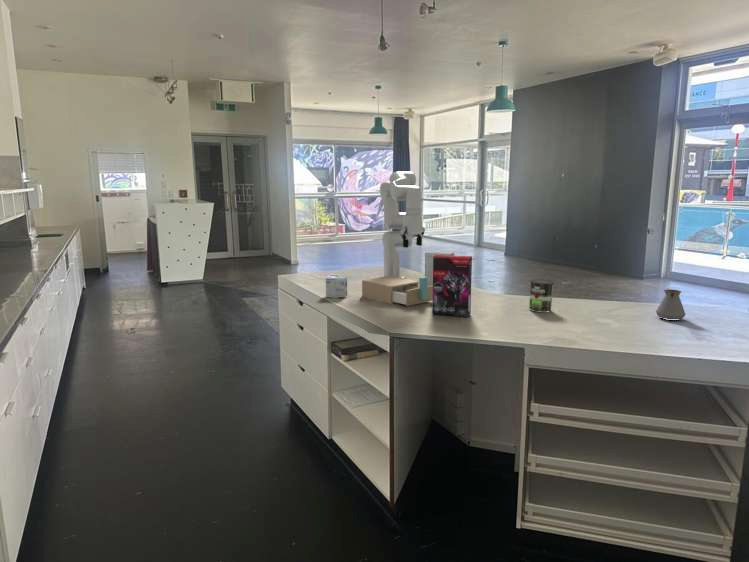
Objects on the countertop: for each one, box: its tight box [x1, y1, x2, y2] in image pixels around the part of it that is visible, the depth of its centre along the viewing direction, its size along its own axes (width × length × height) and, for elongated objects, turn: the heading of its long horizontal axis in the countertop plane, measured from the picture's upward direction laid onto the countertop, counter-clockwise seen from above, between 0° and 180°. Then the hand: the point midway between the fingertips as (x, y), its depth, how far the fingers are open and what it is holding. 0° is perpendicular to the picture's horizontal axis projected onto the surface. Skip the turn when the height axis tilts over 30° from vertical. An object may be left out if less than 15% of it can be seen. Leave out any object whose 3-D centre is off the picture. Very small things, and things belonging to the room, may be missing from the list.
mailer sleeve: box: [361, 275, 419, 305], centre depth 270 cm, size 20×22×9 cm
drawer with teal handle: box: [392, 276, 433, 307], centre depth 260 cm, size 19×24×13 cm
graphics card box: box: [431, 254, 473, 318], centre depth 234 cm, size 17×7×27 cm, turn 70°
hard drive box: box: [424, 251, 455, 286], centre depth 297 cm, size 16×8×20 cm, turn 58°
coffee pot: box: [655, 288, 686, 320], centre depth 224 cm, size 21×12×15 cm, turn 148°
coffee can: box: [528, 278, 554, 312], centre depth 243 cm, size 10×10×14 cm
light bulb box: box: [325, 275, 348, 298], centre depth 272 cm, size 11×7×11 cm, turn 84°
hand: (412, 246), depth 259 cm, fingers open, 9 cm apart
